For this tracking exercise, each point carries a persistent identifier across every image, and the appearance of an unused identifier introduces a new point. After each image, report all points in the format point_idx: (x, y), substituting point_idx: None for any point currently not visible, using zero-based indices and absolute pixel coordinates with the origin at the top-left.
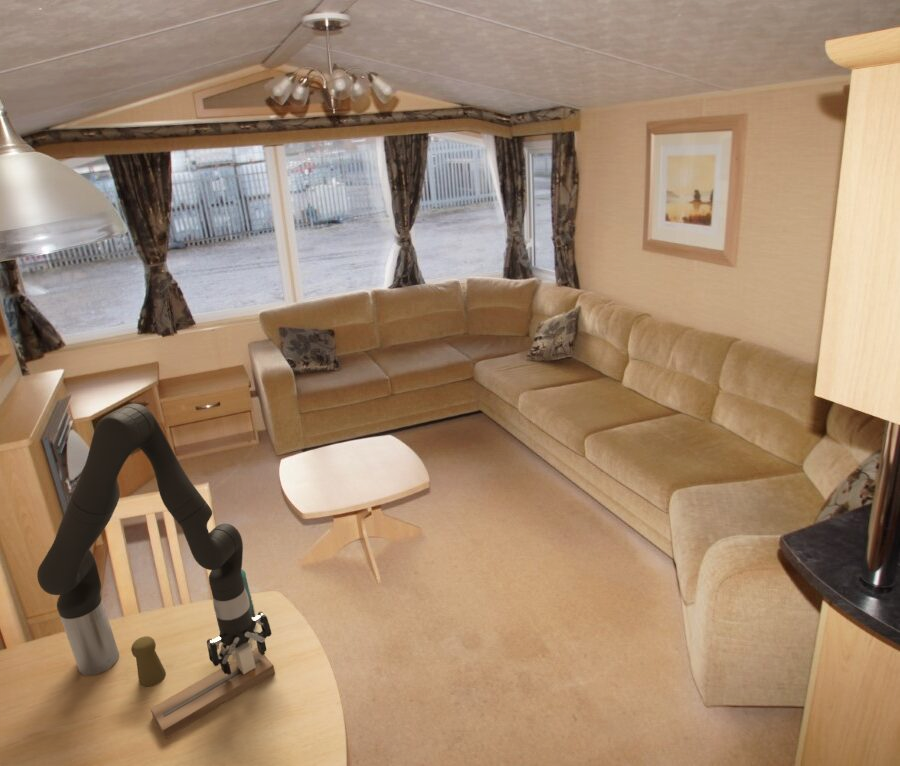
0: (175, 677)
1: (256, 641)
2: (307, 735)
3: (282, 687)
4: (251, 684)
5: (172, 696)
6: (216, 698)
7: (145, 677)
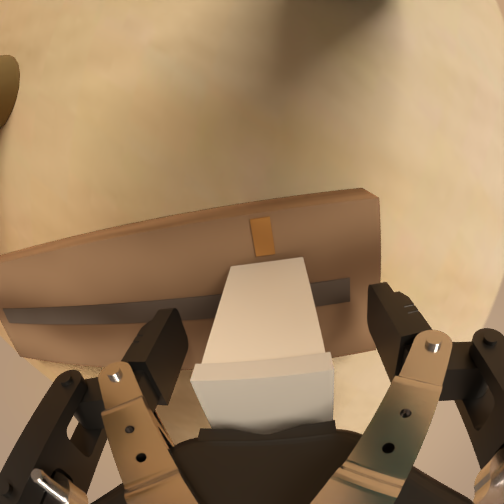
0: (32, 120)
1: (394, 330)
2: None
3: (348, 382)
4: None
5: (8, 263)
6: None
7: None
